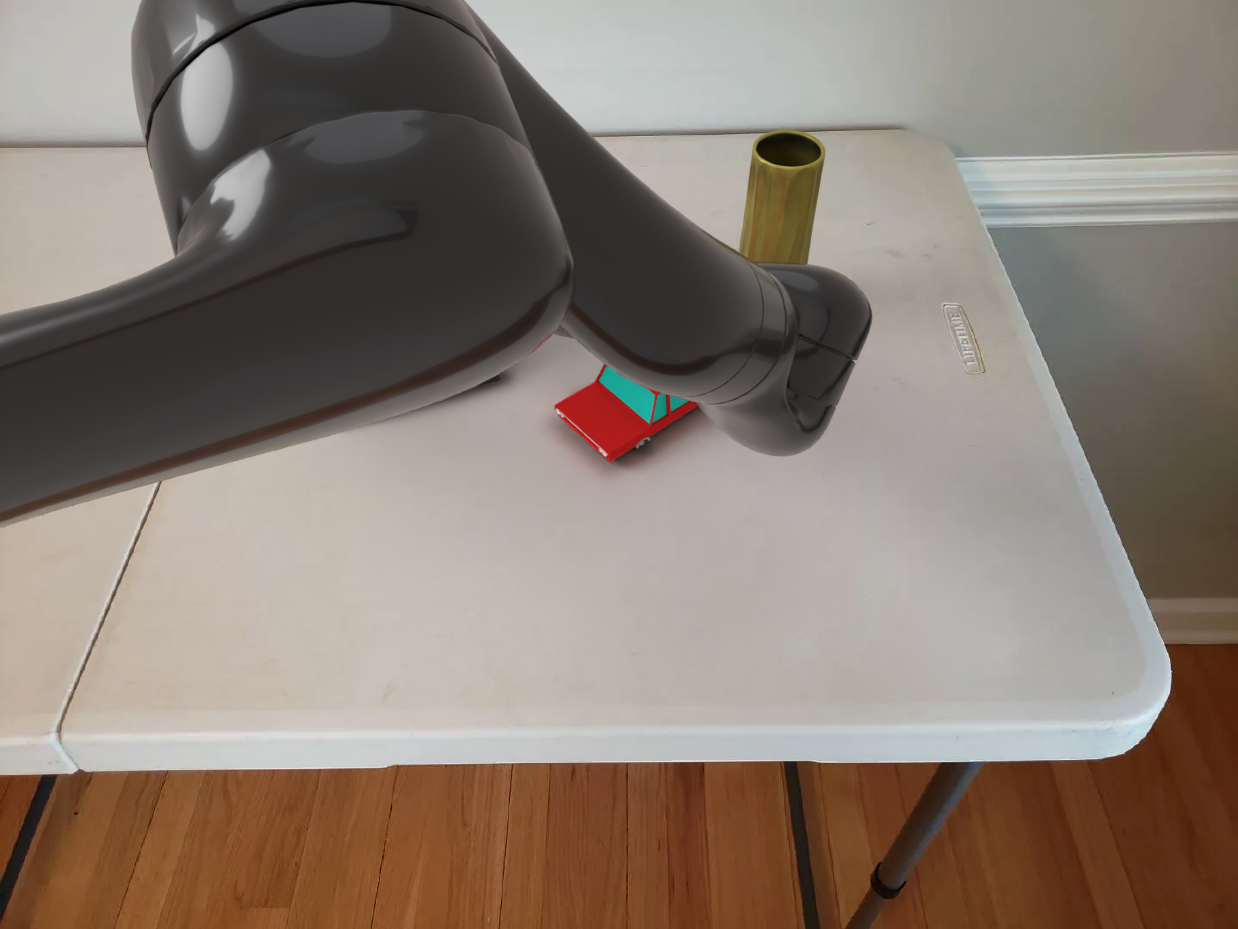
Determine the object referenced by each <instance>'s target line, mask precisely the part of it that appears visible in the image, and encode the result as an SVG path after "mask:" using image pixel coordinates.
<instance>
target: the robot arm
mask: <svg viewBox="0 0 1238 929" xmlns="http://www.w3.org/2000/svg"><path fill="white" fill-rule="evenodd" d="M132 26H133V27H132V29H131V36H130V38H131V39H130V51H131V52H130V73H131V82H132V91H133V96H134V101H135V107H136V113H137V116H138V121H139V125H140V129H141V133H142V137H143V142H144V146H145V149H146V154H147V158H148V162H149V167H150V169H151V172H152V176H153V180H154V185H155V188H156V191H157V192H156V193H157V196H158V199H159V203H160V206H161V211H162V214H163V218H164V222H165V226H166V230H167V233H168V237H169V241H170V245H171V249H172V252H173V256H174V257H172V258H171V259H170V260H167V261H166V262H164V263H162V264H159V265H157V266H156V267H153V268H151V269H148V270H146V271H144V272H143V273H141V274H138V275H135V276H133V277H130V278H128V279H125V280H121V281H119V282H116V283H114V284H112V285H109V286H107V287H103V288H100V289H98V290H94V291H91V292H87V293H84V294H81V295H77V296H74V297H70V298H67V299H63V300H60V301H57V302H56V301H55V302H51V303H46V304H42V305H37V306H33V307H28V308H24V309H19V310H15V311H9V312H6V313H1V314H0V529H4V528H6V527H10V526H12V525H15V524H19V523H21V522H25V521H27V520H31V519H34V518H37V517H41V516H44V515H47V514H51V513H54V512H58V511H60V510H64V509H66V508H70V507H74V506H77V505H81V504H85V503H88V502H91V501H95V500H99V499H102V498H105V497H109V496H112V495H116V494H120V493H123V492H128V491H131V490H135V489H138V488H141V487H145V486H148V485H149V486H150V485H153V484H156V483H160V482H165V481H167V480H171V479H174V478H178V477H182V476H184V475H189V474H193V473H197V472H200V471H204V470H208V469H211V468H216V467H219V466H223V465H226V464H231V463H234V462H237V461H241V460H245V459H249V458H252V457H257V456H259V455H264V454H267V453H271V452H275V451H278V450H282V449H286V448H289V447H294V446H297V445H300V444H304V443H305V444H306V443H308V442H313V441H316V440H319V439H324V438H327V437H330V436H333V435H338V434H340V433H344V432H348V431H351V430H355V429H358V428H361V427H364V426H365V427H366V426H368V425H372V424H376V423H378V422H381V421H382V422H383V421H386V420H389V419H392V418H395V417H398V416H401V415H404V414H407V413H410V412H413V411H415V410H418V409H421V408H422V409H423V408H424V407H428V406H430V405H433V404H435V403H439V402H441V401H444V400H446V399H448V398H451V397H453V396H457V395H458V394H461V393H463V392H466V391H468V390H471V389H473V388H474V387H478V386H480V385H479V384H481V383H483V382H485V381H487V380H488V379H490V378H492V377H494V376H496V375H498V374H499V375H500V374H501V373H504V372H505V371H507V370H509V369H510V368H512V367H514V366H515V365H517V364H518V363H520V362H521V361H522V360H524V359H525V358H526V357H529V355H531V354H532V353H533V352H535V351H536V350H537V349H538V348H540V347H541V346H542V345H543V344H544V343H545V342H546V341H547V340H548V339H550V338H551V337H552V336H553V335H556V336H559V337H564V338H568V339H571V340H575V341H577V343H579V345H581V346H582V347H583V348H584V349H586V350H587V351H588V352H589V353H590V354H591V355H592V356H594V357H595V358H597V359H598V360H599V361H600V362H602V363H603V365H604V364H606V365H607V366H608V367H610V368H611V369H612V370H614V371H615V372H617V373H618V374H620V375H621V376H623V377H625V378H627V379H628V380H630V381H632V382H634V383H636V384H638V385H640V386H643V387H645V388H647V389H650V390H652V391H655V392H659V393H663V394H666V395H670V396H674V397H677V398H681V399H685V400H689V401H693V402H696V404H697V405H698V406H697V407H698V408H699V409H700V410H701V411H702V413H703V414H704V415H705V417H707V418H708V420H709V421H710V422H711V423H712V424H713V425H714V426H715V427H717V428H718V429H719V431H721V432H722V433H724V434H725V435H726V436H728V438H730V439H732V440H733V441H735V443H737V444H739V445H741V446H743V447H745V448H747V449H749V450H751V451H753V452H755V453H759V454H761V455H766V456H770V457H777V458H778V457H781V458H782V457H783V458H784V457H793V456H797V455H799V454H802V453H804V452H806V451H807V450H809V449H811V448H812V447H813V446H815V445H816V443H818V441H820V439H822V438H823V436H824V434H825V432H826V431H827V429H828V427H829V426H830V423H831V421H832V419H833V416H834V414H835V411H836V409H837V407H838V404H839V402H840V400H841V399H842V395H843V394H844V391H845V389H846V387H847V384H848V382H849V380H850V378H851V375H852V373H853V370H854V368H855V366H856V362H857V361H858V359H859V357H860V355H861V352H862V350H863V348H864V346H865V343H866V341H867V339H868V337H869V335H870V330H871V327H872V324H873V310H872V307H871V304H870V301H869V300H868V298H867V296H866V294H865V292H864V291H863V290H862V289H861V288H860V287H859V286H858V285H857V283H856V282H855V281H853V280H852V279H851V278H849V277H848V276H846V275H844V274H843V273H841V272H839V271H836V270H834V269H831V268H829V267H825V266H822V265H816V264H811V263H810V264H809V263H808V264H801V263H789V262H753V261H752V260H750V259H749V258H747V257H746V256H744V255H742V254H741V253H739V250H736V249H734V248H733V247H732V246H729V245H728V244H726V243H725V242H723V241H722V240H720V239H718V238H716V237H715V236H713V235H712V234H710V233H709V232H707V231H706V230H704V229H703V228H702V227H700V226H699V225H697V224H696V223H695V222H693V221H692V219H691V220H690V219H689V217H687V216H685V214H683V213H681V212H680V211H679V210H678V209H676V207H674V206H672V205H671V204H670V203H669V202H667V201H666V200H665V199H664V198H662V197H661V196H660V195H659V194H658V193H656V191H655V190H653V189H652V188H650V187H649V186H648V185H647V184H646V183H645V182H643V181H642V180H641V179H640V178H639V177H637V176H636V175H635V174H634V173H633V172H632V171H630V170H629V169H628V168H627V167H626V165H624V164H623V163H621V162H620V160H618V159H617V158H616V157H615V156H614V155H613V154H612V153H611V152H610V151H608V150H607V148H605V147H604V146H603V145H602V144H601V143H600V142H599V141H598V140H597V139H596V138H595V137H594V136H593V135H592V134H591V133H589V132H588V131H587V130H586V129H585V128H584V127H583V126H582V125H581V124H580V123H579V122H578V121H577V120H576V119H575V118H573V116H571V115H570V113H569V112H567V111H566V110H565V109H564V107H562V105H560V104H559V103H558V101H557V100H556V99H554V97H553V96H551V94H550V93H549V92H548V91H547V90H545V88H544V87H542V85H540V83H539V82H538V81H537V80H536V79H535V77H534V76H533V75H531V73H530V72H529V71H528V70H527V68H525V67H524V66H523V64H522V63H521V62H520V61H519V60H518V59H517V58H516V56H515V55H514V54H513V53H512V52H511V50H510V49H508V47H507V46H506V45H505V44H504V43H503V42H502V41H501V39H500V38H499V37H498V36H497V34H496V33H495V32H494V31H493V30H492V28H490V27H489V26H488V25H487V23H485V21H484V20H483V19H482V18H481V17H480V16H479V14H478V13H477V12H476V11H475V10H474V9H473V8H472V7H471V6H470V4H468V3H467V1H466V0H141V1H140V3H139V6H138V9H137V11H136V16H135V19H134V23H133V25H132ZM855 361H856V362H855ZM477 385H478V386H477Z"/></svg>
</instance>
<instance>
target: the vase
mask: <svg viewBox="0 0 1238 929" xmlns="http://www.w3.org/2000/svg"><path fill="white" fill-rule="evenodd" d="M825 158H826V148H825V146H824V144H823V142H822V141H820V139H818V138H817V137H816V136H814V135H812V134H810V133H808V132H805V131H801V130H795V129H778V130H773V131H769V132H765V133H764V134H761V135H760V136H758V137H757V138H756V139H755V140H754V142H753V145H752V149H751V159H750V165H749V172H748V173H749V174H748V180H747V188H746V196H745V197H746V198H745V205H744V211H743V217H742V218H743V221H742V228H741V233H740V239H739V246H738V252H739V253H741V254H742V255H744V256H746V257H747V258H749V259H750V260H752V261H753V262H789V263H801V264H809V256H810V250H811V243H812V236H813V229H814V224H815V223H814V222H815V216H816V211H817V207H818V200H819V193H820V187H821V182H822V181H821V180H822V175H823V170H824V165H825Z"/></svg>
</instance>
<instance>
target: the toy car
mask: <svg viewBox="0 0 1238 929" xmlns="http://www.w3.org/2000/svg"><path fill="white" fill-rule="evenodd" d="M553 406H554V410H555V412H556V414H557V416H558V417H559V418H560V419H561V420H562V421H563V422H564V423H565V424H566V425H567V426H569V427H570V428H571V429H572V431H574V432H575V433H576V434H578V435H579V437H581V439H583V440H584V441H585V442H586V443H587V444H589V446H591V447H592V448H593V449H594V450H595V451H596V452H597V453H598V454H600V455H601V456H602V457H603V458H604V459H605V460H606V461H607V462H608V463H609V464H610V463H612V462H614V461H616V460H617V459H618V458H620V457H621V456H623V455H625V454H626V453H628V452H629V451H631V450H632V449H634V448H636V449H640V448H641V447H643V446H645V444H646V440H647V441H648V442H650V441H651V437H653V436H654V435H655V434H657V433H658V432H660V431H662V430H663V429H665V428H666V427H668V426H669V425H671V424H672V423H674V422H675V421H677V420H678V419H680V418H682V417H683V416H685V415H686V414H688V413H690V412H691V411H693V410H694V409H696V408H697V407H699V406H698V405H697V404H696V402H693V401H689V400H685V399H681V398H677V397H674V396H670V395H666V394H663V393H659V392H655V391H652V390H650V389H647V388H645V387H643V386H640V385H638V384H636V383H634V382H632V381H630V380H628V379H627V378H625V377H623V376H621V375H620V374H618V373H617V372H615V371H614V370H612V369H611V368H610V367H608V366H607V365H606V364H604V363H603V366H602V367H601V369H600V371H599V373H598V375H597V376H596V379H595V381H594V382H592V383H590V384H588V385H587V386H584V387H583V388H581V389H580V390H578V391H576V392H574V393H573V394H570V395H569V396H567V397H565V398H563V399H562V400H560V401H558V402H556V403H555V404H554V405H553Z"/></svg>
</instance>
